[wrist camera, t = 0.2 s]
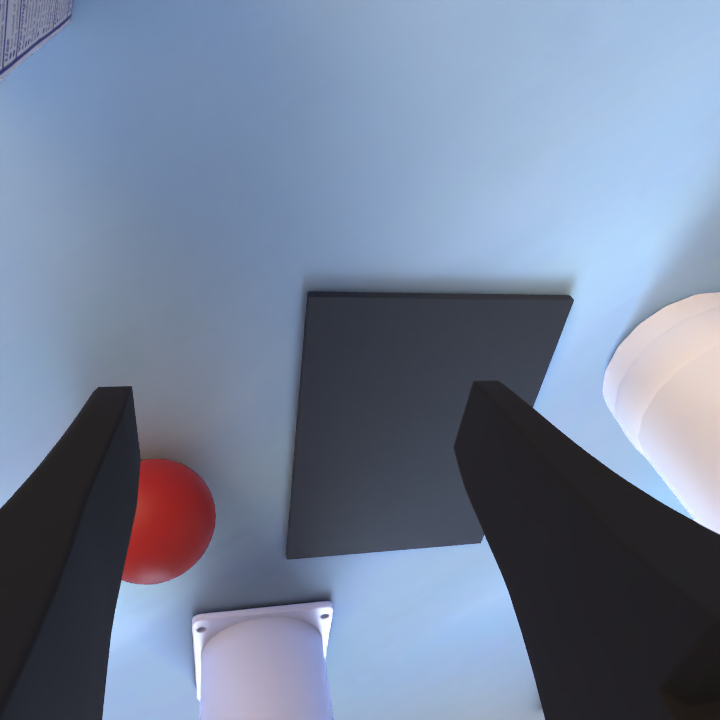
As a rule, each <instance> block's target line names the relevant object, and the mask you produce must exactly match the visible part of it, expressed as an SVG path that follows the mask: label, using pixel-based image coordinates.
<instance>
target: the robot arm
mask: <svg viewBox="0 0 720 720" xmlns="http://www.w3.org/2000/svg"><path fill="white" fill-rule="evenodd" d="M453 448H454V452H455V455H456V459H457V463H458V467H459V471H460V474H461V477H462V481H463V484H464V487H465V490H466V492H467V495H468V497H469V499H470V502H471V504H472V507H473V509H474V511H475V514H476V516H477V518H478V521H479V523H480V525H481V527H482V530H483V532H484V534H485V537H486V539H487V541H488V543H489V546H490V548H491V550H492V553H493V555H494V557H495V559H496V562H497V564H498V566H499V569H500V571H501V573H502V576H503V578H504V581H505V583H506V586H507V589H508V591H509V594H510V597H511V600H512V604H513V607H514V610H515V613H516V616H517V619H518V622H519V626H520V629H521V632H522V635H523V639H524V642H525V646H526V649H527V653H528V656H529V660H530V663H531V667H532V670H533V674H534V677H535V681H536V685H537V689H538V693H539V697H540V700H541V704H542V708H543V712H544V716H545V720H720V534H718V533H716V532H714V531H712V530H710V529H708V528H706V527H704V526H702V525H700V524H699V523H697V522H695V521H693V520H691V519H689V518H688V517H686V516H684V515H682V514H680V513H679V512H677V511H675V510H673V509H671V508H670V507H668V506H666V505H665V504H663V503H661V502H659V501H658V500H656V499H655V498H653V497H651V496H650V495H648V494H647V493H645V492H644V491H642V490H640V489H639V488H637V487H636V486H634V485H633V484H631V483H629V482H628V481H626V480H625V479H623V478H622V477H621V476H619V475H618V474H616V473H615V472H613V471H612V470H610V469H609V468H608V467H606V466H605V465H604V464H602V463H601V462H600V461H598V460H597V459H596V458H594V457H593V456H591V455H590V454H589V453H587V452H586V451H585V450H584V449H582V448H581V447H580V446H578V445H577V444H576V443H575V442H573V441H572V440H571V439H570V438H568V437H567V436H566V435H565V434H563V433H562V432H561V431H560V430H558V429H557V428H556V427H555V426H554V425H552V424H551V423H550V422H549V421H548V420H546V419H545V418H544V417H543V416H542V415H540V414H539V413H538V412H537V411H536V410H535V409H533V408H532V407H531V406H530V405H529V404H527V403H526V402H525V401H524V400H523V399H521V398H520V397H519V396H518V395H517V394H515V393H514V392H513V391H512V390H510V389H509V388H508V387H507V386H505V385H504V384H503V383H501V382H500V381H499V380H494V381H473V384H472V387H471V391H470V394H469V397H468V400H467V404H466V407H465V410H464V414H463V417H462V420H461V424H460V427H459V430H458V434H457V437H456V440H455V444H454V447H453ZM140 464H141V458H140V450H139V441H138V433H137V425H136V416H135V408H134V399H133V391H132V386H124V387H98V388H97V389H96V390H95V391H93V393H92V394H91V396H90V398H89V399H88V401H87V402H86V404H85V405H84V407H83V408H82V410H81V411H80V412H79V414H78V415H77V417H76V418H75V420H74V421H73V422H72V424H71V425H70V426H69V428H68V429H67V431H66V432H65V433H64V435H63V436H62V437H61V439H60V440H59V441H58V442H57V444H56V445H55V446H54V447H53V449H52V450H51V451H50V452H49V454H48V455H47V456H46V457H45V459H44V460H43V461H42V463H41V464H40V465H39V466H38V467H37V469H36V470H35V471H34V472H33V473H32V474H31V475H30V477H29V478H28V479H27V480H26V481H25V482H24V483H23V484H22V486H21V487H20V488H19V489H18V490H17V491H16V492H15V493H14V495H13V496H12V497H11V498H10V499H9V500H8V501H7V502H6V503H5V504H4V505H3V506H2V507H1V509H0V720H102V715H103V704H104V694H105V684H106V675H107V666H108V657H109V648H110V639H111V631H112V625H113V619H114V613H115V608H116V603H117V598H118V594H119V589H120V584H121V580H122V575H123V570H124V565H125V561H126V556H127V551H128V547H129V542H130V537H131V532H132V528H133V523H134V518H135V513H136V508H137V499H138V488H139V477H140ZM333 612H334V608H333V603H332V602H329V601H321V602H311V603H302V604H292V605H282V606H272V607H262V608H253V609H243V610H233V611H223V612H214V613H204V614H198V615H196V616H194V617H193V618H192V636H193V649H194V662H195V676H196V689H197V699H198V700H200V720H333V713H332V706H331V699H330V692H329V684H328V677H327V670H326V663H325V658H326V652H327V647H328V641H329V635H330V629H331V624H332V618H333Z"/></svg>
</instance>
